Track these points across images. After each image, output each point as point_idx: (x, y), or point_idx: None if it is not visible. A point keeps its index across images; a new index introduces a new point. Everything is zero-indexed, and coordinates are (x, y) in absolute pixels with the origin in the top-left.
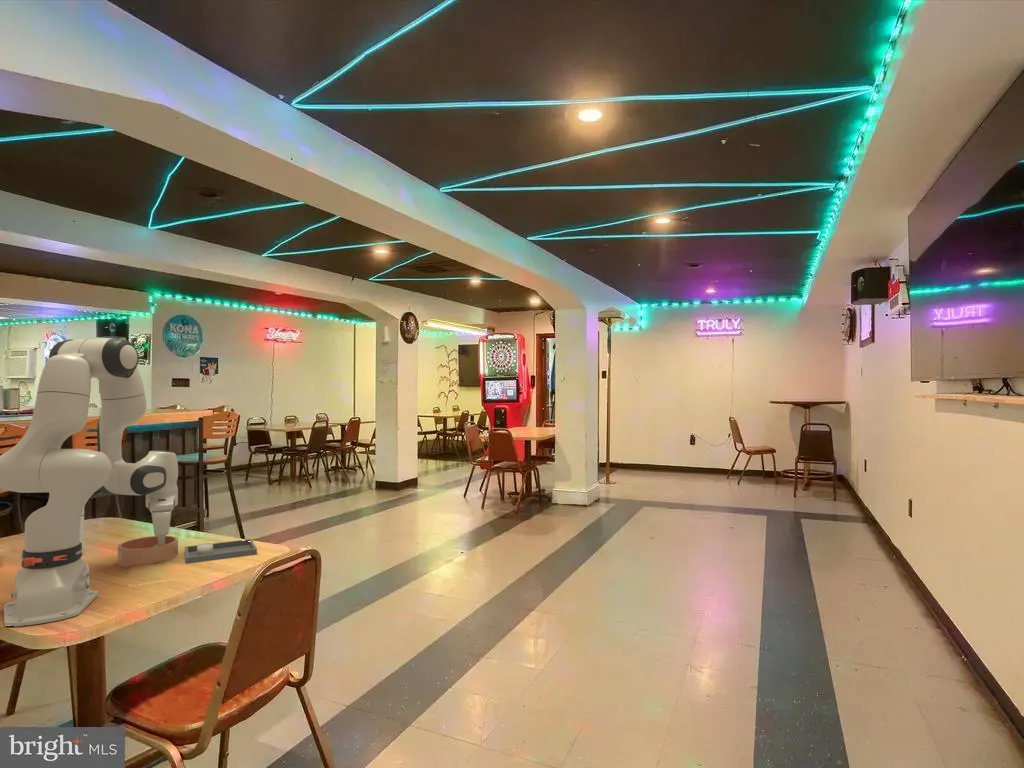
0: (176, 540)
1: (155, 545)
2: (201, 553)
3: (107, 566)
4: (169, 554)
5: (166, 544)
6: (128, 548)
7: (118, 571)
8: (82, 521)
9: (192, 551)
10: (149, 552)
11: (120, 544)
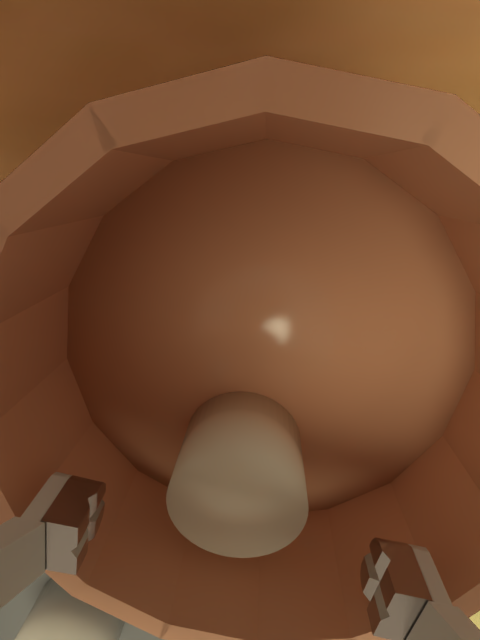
0: (157, 629)
1: (281, 473)
2: (33, 606)
3: (279, 7)
4: None
5: None
6: (54, 194)
7: (29, 87)
8: None
9: None
10: None
11: (425, 124)
